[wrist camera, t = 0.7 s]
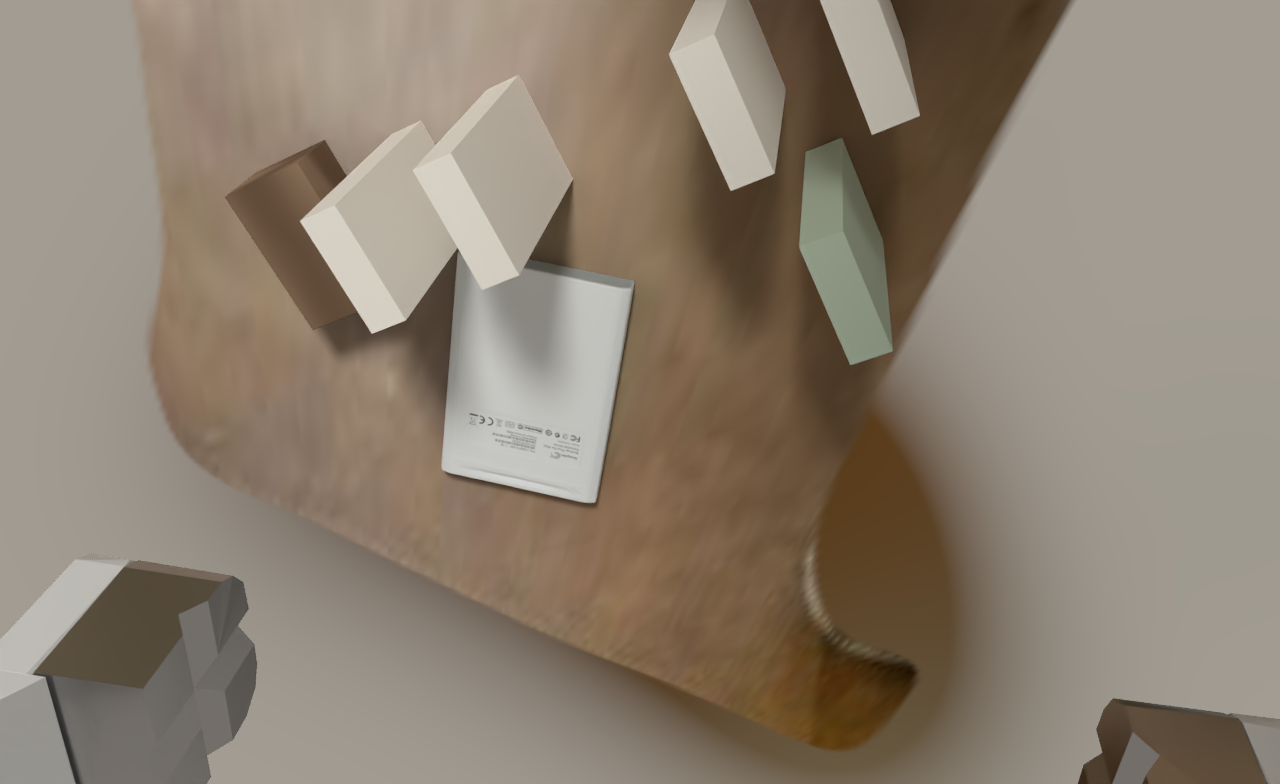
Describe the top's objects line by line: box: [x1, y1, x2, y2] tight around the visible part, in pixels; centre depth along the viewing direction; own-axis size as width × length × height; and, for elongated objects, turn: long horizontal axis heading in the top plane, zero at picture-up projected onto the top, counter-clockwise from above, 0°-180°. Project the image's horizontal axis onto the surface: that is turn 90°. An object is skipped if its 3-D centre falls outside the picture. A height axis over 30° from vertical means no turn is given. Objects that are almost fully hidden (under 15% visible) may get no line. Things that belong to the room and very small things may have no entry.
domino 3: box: [669, 0, 786, 191], centre depth 41 cm, size 2×5×10 cm, turn 26°
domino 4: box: [820, 0, 920, 135], centre depth 40 cm, size 2×5×10 cm, turn 26°
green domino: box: [799, 138, 893, 365], centre depth 44 cm, size 2×5×10 cm, turn 26°
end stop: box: [225, 140, 358, 330], centre depth 51 cm, size 4×7×3 cm, turn 26°
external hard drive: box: [441, 251, 635, 503], centre depth 55 cm, size 2×8×12 cm
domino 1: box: [300, 121, 457, 334], centre depth 46 cm, size 2×5×10 cm, turn 26°
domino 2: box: [413, 75, 573, 290], centre depth 45 cm, size 2×5×10 cm, turn 26°
